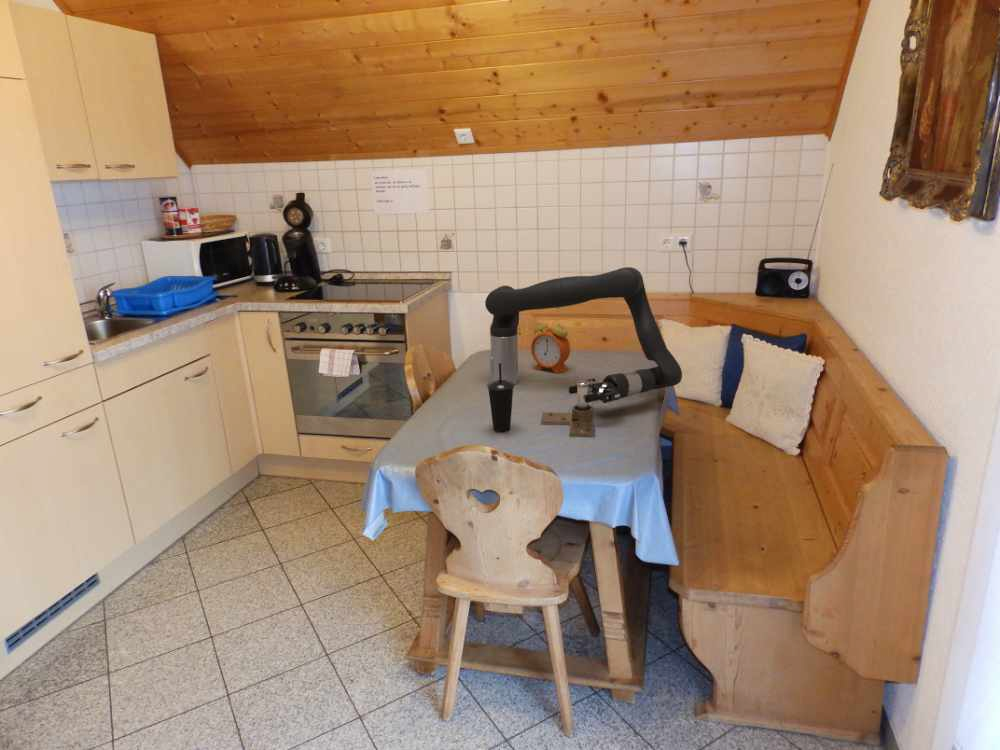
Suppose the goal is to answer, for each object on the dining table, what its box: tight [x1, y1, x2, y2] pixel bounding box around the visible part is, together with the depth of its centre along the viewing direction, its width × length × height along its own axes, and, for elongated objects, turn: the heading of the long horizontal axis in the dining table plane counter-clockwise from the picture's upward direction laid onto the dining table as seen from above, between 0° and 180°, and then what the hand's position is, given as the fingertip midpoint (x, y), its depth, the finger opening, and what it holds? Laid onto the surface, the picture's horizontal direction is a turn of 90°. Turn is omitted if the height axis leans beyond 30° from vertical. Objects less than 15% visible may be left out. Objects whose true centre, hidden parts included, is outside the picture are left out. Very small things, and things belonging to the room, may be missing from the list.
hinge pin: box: [575, 379, 589, 411], centre depth 198 cm, size 4×4×12 cm
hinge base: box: [540, 404, 596, 438], centre depth 195 cm, size 16×16×4 cm
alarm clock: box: [530, 315, 571, 375], centre depth 243 cm, size 13×6×20 cm, turn 55°
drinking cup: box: [486, 363, 515, 434], centre depth 192 cm, size 8×8×20 cm
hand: (577, 394), depth 196 cm, fingers open, 8 cm apart
